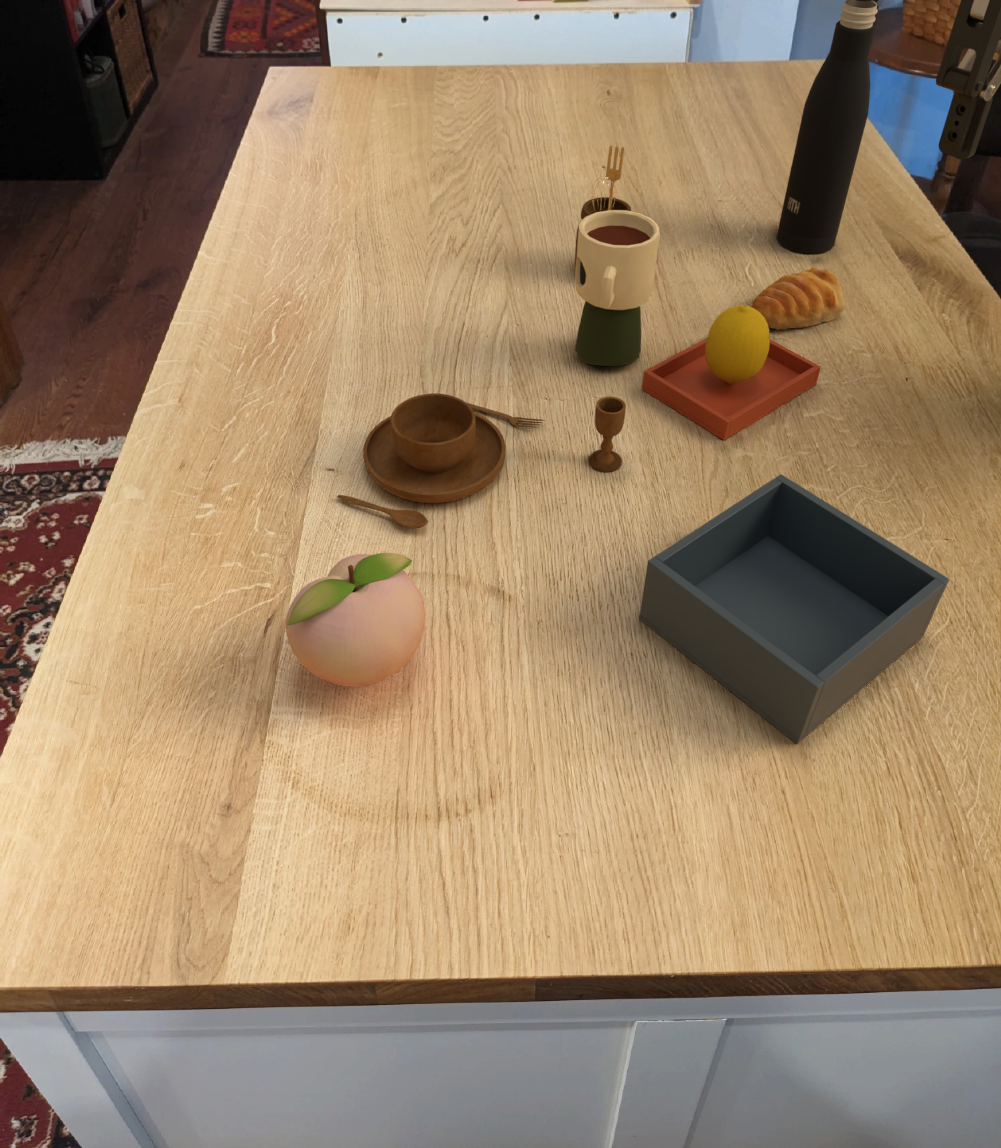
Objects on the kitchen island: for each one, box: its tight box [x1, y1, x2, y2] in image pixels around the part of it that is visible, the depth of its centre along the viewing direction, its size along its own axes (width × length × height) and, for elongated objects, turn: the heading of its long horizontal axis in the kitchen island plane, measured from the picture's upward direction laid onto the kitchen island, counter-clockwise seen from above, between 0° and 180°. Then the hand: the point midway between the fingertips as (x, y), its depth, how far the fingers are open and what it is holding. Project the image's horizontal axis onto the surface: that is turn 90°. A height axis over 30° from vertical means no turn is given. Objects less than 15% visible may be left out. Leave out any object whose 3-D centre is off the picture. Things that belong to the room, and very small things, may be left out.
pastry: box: [751, 266, 846, 331], centre depth 102 cm, size 9×7×4 cm
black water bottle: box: [776, 0, 878, 255], centre depth 103 cm, size 6×6×30 cm
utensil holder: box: [574, 145, 632, 269], centre depth 105 cm, size 6×6×12 cm
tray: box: [641, 337, 822, 441], centre depth 94 cm, size 13×10×2 cm
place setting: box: [336, 392, 627, 529], centre depth 83 cm, size 18×20×6 cm
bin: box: [638, 473, 950, 745], centre depth 71 cm, size 14×14×6 cm
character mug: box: [574, 210, 660, 367], centre depth 93 cm, size 11×7×13 cm, turn 166°
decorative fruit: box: [285, 552, 426, 687], centre depth 67 cm, size 9×8×10 cm
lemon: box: [705, 304, 771, 384], centre depth 91 cm, size 6×6×8 cm
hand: (991, 137), depth 67 cm, fingers open, 8 cm apart
